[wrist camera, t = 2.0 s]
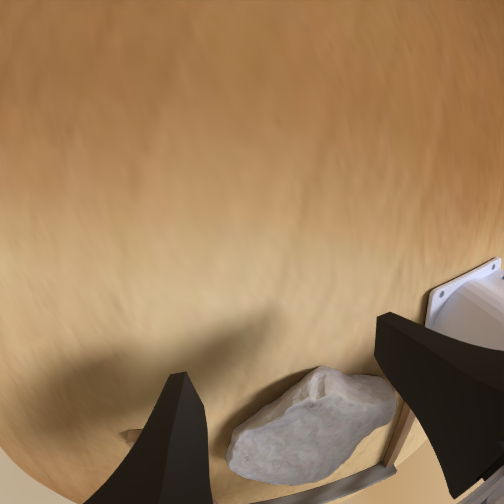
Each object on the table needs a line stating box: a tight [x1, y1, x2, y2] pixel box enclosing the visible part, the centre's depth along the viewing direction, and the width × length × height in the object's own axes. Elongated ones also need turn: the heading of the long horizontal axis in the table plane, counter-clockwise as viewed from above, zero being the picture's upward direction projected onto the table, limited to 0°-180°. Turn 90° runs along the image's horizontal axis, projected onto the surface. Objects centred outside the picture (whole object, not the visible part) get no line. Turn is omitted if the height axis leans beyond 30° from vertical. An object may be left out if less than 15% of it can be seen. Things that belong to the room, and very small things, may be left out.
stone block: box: [225, 366, 397, 486], centre depth 18 cm, size 12×5×10 cm
